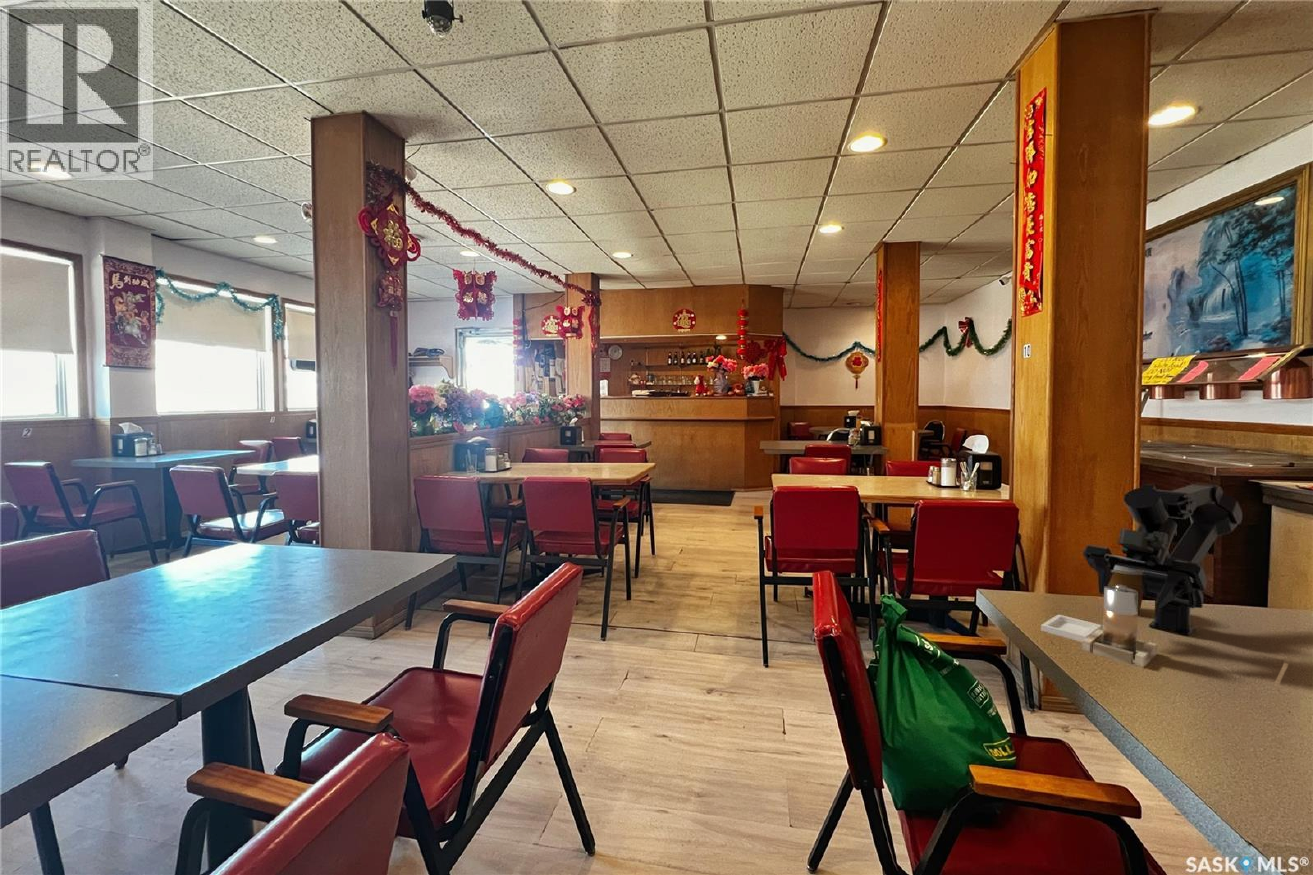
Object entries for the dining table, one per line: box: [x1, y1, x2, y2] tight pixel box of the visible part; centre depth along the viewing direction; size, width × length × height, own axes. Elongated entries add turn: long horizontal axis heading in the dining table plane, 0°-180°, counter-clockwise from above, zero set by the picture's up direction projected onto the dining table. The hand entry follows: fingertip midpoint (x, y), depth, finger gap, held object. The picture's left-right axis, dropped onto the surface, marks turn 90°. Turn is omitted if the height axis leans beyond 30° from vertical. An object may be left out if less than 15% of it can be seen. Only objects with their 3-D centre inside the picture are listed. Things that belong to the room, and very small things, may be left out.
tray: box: [1040, 614, 1103, 643], centre depth 120 cm, size 10×8×2 cm
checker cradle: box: [1081, 629, 1158, 669], centre depth 109 cm, size 9×9×2 cm
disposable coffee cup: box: [1108, 565, 1144, 614], centre depth 133 cm, size 10×10×12 cm
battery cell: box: [1102, 585, 1139, 658], centre depth 109 cm, size 5×5×13 cm
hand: (1128, 600), depth 110 cm, fingers open, 9 cm apart
